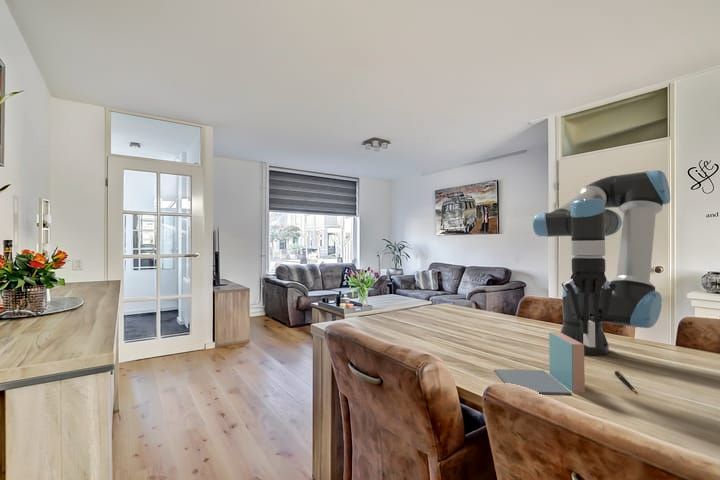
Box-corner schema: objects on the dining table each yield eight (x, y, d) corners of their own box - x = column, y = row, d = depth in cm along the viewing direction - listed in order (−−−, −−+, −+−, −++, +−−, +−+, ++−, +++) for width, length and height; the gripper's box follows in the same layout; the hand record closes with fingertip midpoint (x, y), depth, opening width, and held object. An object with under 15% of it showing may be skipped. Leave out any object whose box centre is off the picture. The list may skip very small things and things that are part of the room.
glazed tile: (560, 374, 98) (559, 332, 98) (584, 392, 86) (584, 344, 86) (549, 374, 98) (549, 332, 98) (572, 392, 86) (571, 344, 86)
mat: (543, 372, 100) (543, 370, 100) (571, 394, 85) (571, 392, 85) (494, 370, 101) (493, 369, 101) (512, 393, 86) (512, 391, 86)
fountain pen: (638, 395, 85) (638, 388, 85) (632, 394, 85) (632, 388, 85) (617, 374, 98) (617, 368, 98) (612, 373, 99) (612, 368, 99)
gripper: (604, 256, 95) (605, 342, 95) (555, 256, 96) (556, 341, 96) (623, 257, 88) (624, 350, 87) (570, 257, 89) (571, 349, 88)
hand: (589, 345), depth 91 cm, fingers closed
